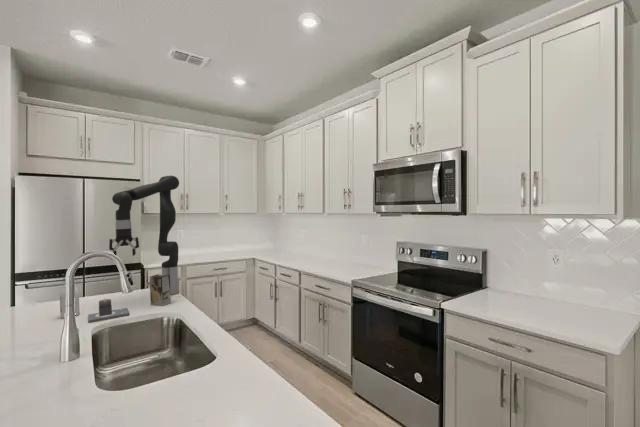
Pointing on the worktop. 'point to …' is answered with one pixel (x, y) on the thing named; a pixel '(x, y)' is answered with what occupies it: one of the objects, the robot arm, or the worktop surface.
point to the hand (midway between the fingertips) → (124, 256)
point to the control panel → (114, 314)
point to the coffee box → (160, 290)
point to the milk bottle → (62, 301)
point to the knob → (105, 307)
